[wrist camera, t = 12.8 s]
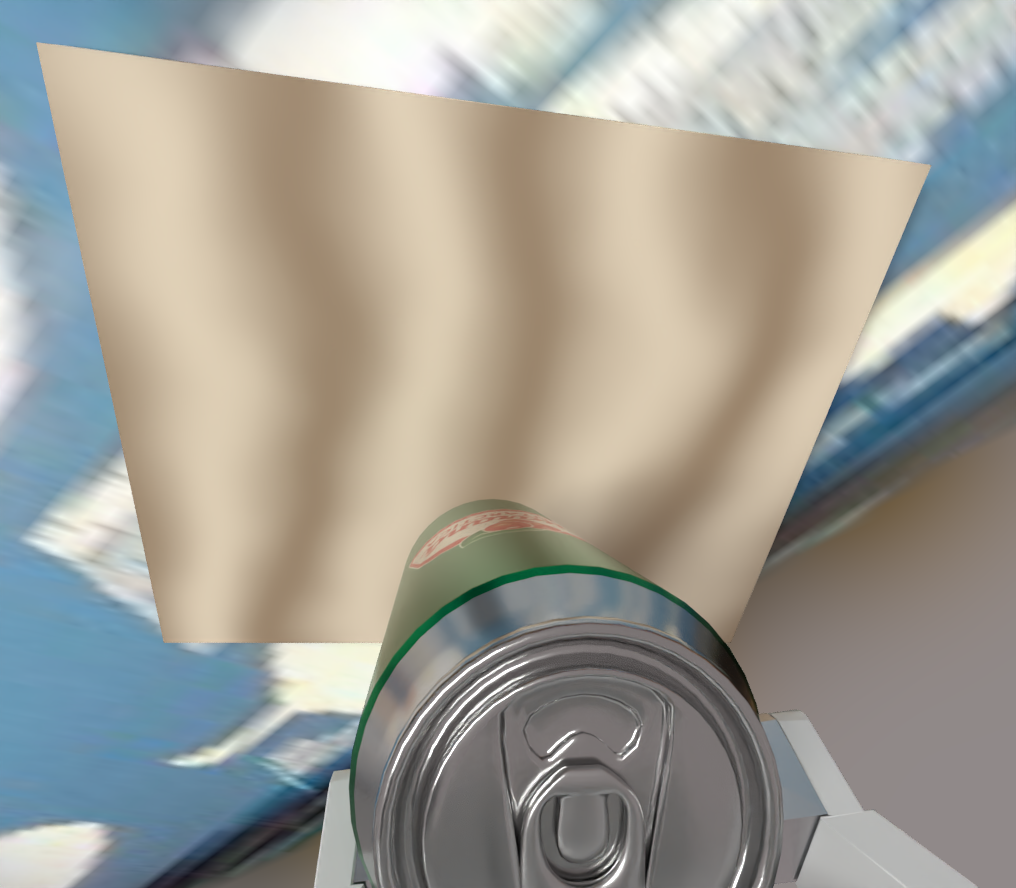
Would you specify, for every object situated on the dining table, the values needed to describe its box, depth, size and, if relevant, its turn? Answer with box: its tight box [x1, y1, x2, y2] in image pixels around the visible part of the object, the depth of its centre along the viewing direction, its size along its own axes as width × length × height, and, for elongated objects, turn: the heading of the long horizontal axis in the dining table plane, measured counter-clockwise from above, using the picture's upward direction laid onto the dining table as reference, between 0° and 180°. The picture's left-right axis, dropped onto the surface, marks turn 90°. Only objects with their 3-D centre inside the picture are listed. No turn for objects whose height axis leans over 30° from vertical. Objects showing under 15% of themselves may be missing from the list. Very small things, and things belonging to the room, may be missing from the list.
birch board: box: [37, 43, 931, 643], centre depth 22 cm, size 24×20×2 cm
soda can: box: [349, 499, 784, 888], centre depth 12 cm, size 5×5×12 cm
